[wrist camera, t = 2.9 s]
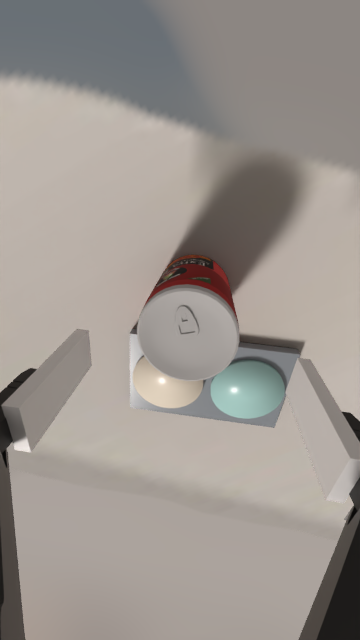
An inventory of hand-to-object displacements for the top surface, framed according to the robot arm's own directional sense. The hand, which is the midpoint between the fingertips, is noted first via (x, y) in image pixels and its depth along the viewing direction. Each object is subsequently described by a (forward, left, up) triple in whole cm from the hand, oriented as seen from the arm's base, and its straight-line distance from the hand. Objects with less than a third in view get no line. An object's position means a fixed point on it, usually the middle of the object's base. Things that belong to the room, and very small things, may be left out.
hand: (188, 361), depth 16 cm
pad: (+8, -12, -12) cm, 19 cm away
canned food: (0, 0, -14) cm, 14 cm away
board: (+3, -12, -14) cm, 18 cm away
